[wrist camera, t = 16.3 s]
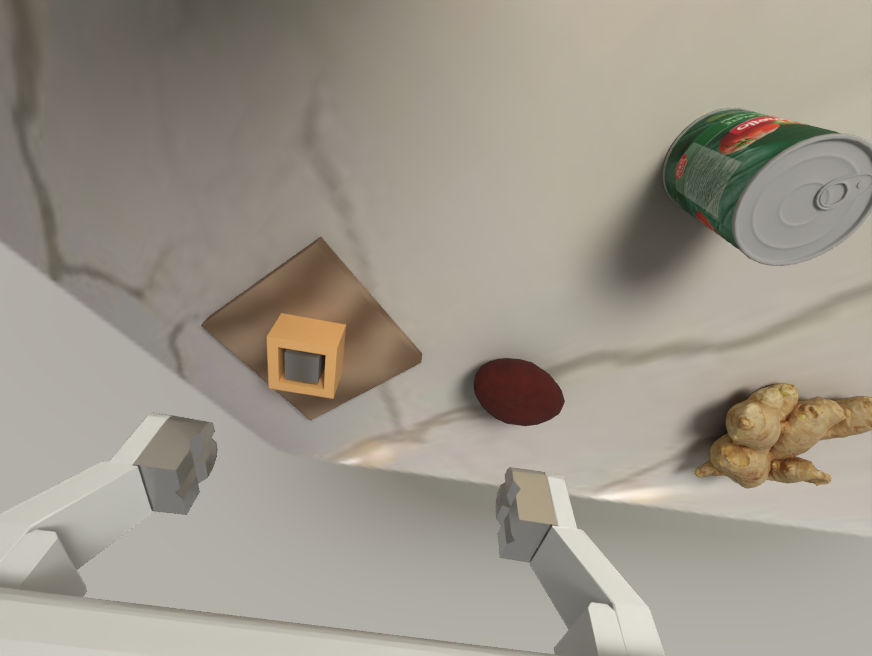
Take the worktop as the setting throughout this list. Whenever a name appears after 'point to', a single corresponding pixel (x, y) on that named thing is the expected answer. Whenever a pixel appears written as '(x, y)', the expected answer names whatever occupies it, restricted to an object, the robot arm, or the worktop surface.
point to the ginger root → (782, 435)
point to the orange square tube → (308, 339)
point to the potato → (517, 392)
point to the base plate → (323, 300)
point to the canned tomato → (771, 183)
